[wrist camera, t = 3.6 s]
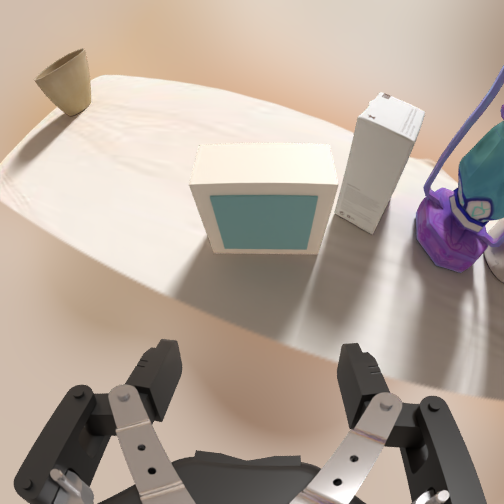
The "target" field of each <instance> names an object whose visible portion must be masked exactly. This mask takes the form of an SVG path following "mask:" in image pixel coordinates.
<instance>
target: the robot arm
mask: <svg viewBox="0 0 504 504" xmlns="http://www.w3.org/2000/svg"><path fill="white" fill-rule="evenodd" d="M503 232H504V218H502V219H500V220H499V221H498V222H497V223H496V225H495V226H494V227H493V228H492V229H491V230H490V231H489V232H488V234H489V235H490V236H491V237H492V238H493V239H495V238H498V237H499V236H500V235H501V234H502V233H503ZM484 254H485V258H486V261H487V263H488V265H489V267H490V269H491V271H492V272H493V274H494V275H495V276H496V277H497V278H498V279H499V280H500V281H501V282H503V283H504V242H503V243H502V244H501V245H500V246H499V247H490V246H489V245H488V248H487V249H486V250H485V251H484ZM181 374H182V362H181V357H180V352H179V347H178V343H177V341H175V340H166V339H161V340H160V342H159V344H158V345H157V347H156V348H150V349H149V350H148V351H146V352H145V353H144V354H143V356H142V358H141V359H140V361H139V362H138V364H137V366H136V367H135V369H134V370H133V372H132V374H131V375H130V377H129V378H128V380H127V382H126V383H125V384H124V385H119V386H116V387H114V388H113V389H112V390H111V391H110V392H109V393H108V394H94V393H93V391H92V389H91V388H90V387H88V386H86V385H77V386H75V387H72V388H71V389H70V390H69V391H68V392H67V394H66V395H65V397H64V398H63V400H62V401H61V403H60V404H59V406H58V407H57V409H56V410H55V412H54V413H53V415H52V416H51V418H50V419H49V421H48V422H47V424H46V426H45V427H44V429H43V430H42V432H41V434H40V436H39V437H38V438H37V440H36V442H35V443H34V445H33V447H32V448H31V450H30V452H29V454H28V455H27V457H26V459H25V460H24V462H23V464H22V465H21V467H20V469H19V471H18V473H17V475H16V477H15V479H14V488H15V490H16V492H17V493H18V494H19V495H20V496H21V497H22V498H23V499H25V500H26V501H27V502H28V503H30V504H94V502H93V499H94V495H93V492H92V490H91V488H90V485H91V482H92V480H93V477H94V475H95V472H96V470H97V467H98V465H99V463H100V460H101V458H102V456H103V453H104V451H105V448H106V446H107V444H108V442H109V439H110V437H111V436H112V435H113V436H117V437H118V440H119V443H120V446H121V449H122V451H123V454H124V457H125V460H126V462H127V465H128V467H129V470H130V472H131V475H132V477H133V480H134V482H135V485H133V486H131V487H129V488H128V489H126V490H124V491H122V492H120V493H118V494H116V495H114V496H112V497H110V498H108V499H106V500H104V501H102V502H100V503H98V504H366V503H364V502H363V501H361V500H360V499H359V498H358V497H356V496H355V493H356V492H357V490H358V489H359V487H360V486H361V484H362V483H363V481H364V480H365V478H366V477H367V475H368V473H369V472H370V470H371V468H372V467H373V465H374V463H375V462H376V460H377V458H378V456H379V454H380V453H381V451H382V449H383V447H384V446H387V447H400V451H401V455H402V459H403V463H404V467H405V471H406V475H407V480H408V485H409V489H410V494H411V499H412V503H411V504H487V503H486V500H485V496H484V493H483V490H482V487H481V484H480V481H479V478H478V476H477V473H476V470H475V467H474V465H473V462H472V460H471V457H470V455H469V452H468V450H467V447H466V445H465V442H464V440H463V438H462V436H461V434H460V431H459V429H458V427H457V424H456V422H455V420H454V418H453V416H452V414H451V412H450V410H449V407H448V405H447V404H446V402H445V401H444V400H443V399H441V398H440V397H437V396H428V397H426V398H424V399H423V400H422V401H421V403H420V404H408V403H402V401H401V399H400V398H399V397H397V396H396V395H395V394H392V393H390V391H389V389H388V387H387V384H386V382H385V380H384V377H383V375H382V373H381V371H380V369H379V367H378V364H377V362H376V360H375V358H374V357H373V356H372V355H370V354H369V353H368V352H366V353H362V351H361V348H360V346H359V344H358V343H351V344H343V345H342V348H341V353H340V358H339V363H338V368H337V379H338V383H339V387H340V391H341V395H342V399H343V403H344V407H345V411H346V415H347V420H348V424H349V428H350V429H351V430H350V432H349V433H348V434H347V436H346V437H345V439H344V440H343V442H342V443H341V444H340V446H339V447H338V448H337V450H336V451H335V452H334V454H333V455H332V457H331V458H330V459H329V460H328V462H327V463H326V464H325V465H324V467H323V468H322V469H320V468H319V467H317V466H314V465H311V464H308V463H303V462H301V458H300V456H273V457H267V458H262V459H256V460H249V461H246V460H242V459H238V458H235V457H231V456H227V455H224V454H221V453H212V452H204V451H197V450H196V453H195V456H194V457H188V458H183V459H179V460H176V461H174V462H172V463H171V462H170V460H169V458H168V456H167V454H166V453H165V450H164V449H163V447H162V445H161V443H160V441H159V439H158V437H157V434H156V432H155V430H154V428H153V426H152V424H153V422H154V421H159V422H162V421H163V419H164V416H165V414H166V411H167V409H168V406H169V404H170V401H171V398H172V396H173V394H174V391H175V389H176V387H177V384H178V382H179V379H180V377H181Z"/></svg>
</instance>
